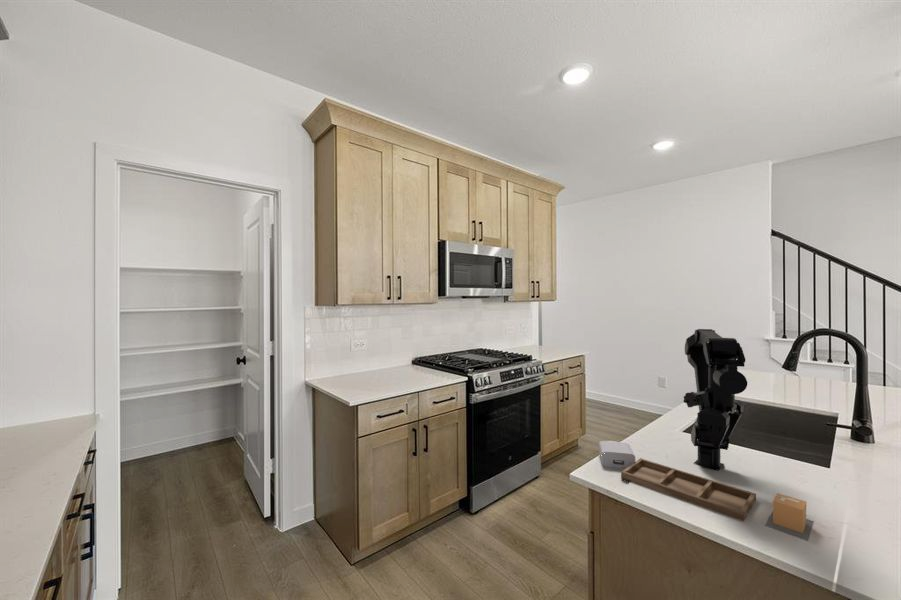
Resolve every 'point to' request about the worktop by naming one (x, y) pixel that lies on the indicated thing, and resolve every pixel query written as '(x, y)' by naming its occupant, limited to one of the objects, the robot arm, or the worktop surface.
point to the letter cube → (789, 512)
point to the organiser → (691, 488)
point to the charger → (616, 454)
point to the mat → (803, 535)
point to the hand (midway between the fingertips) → (721, 442)
